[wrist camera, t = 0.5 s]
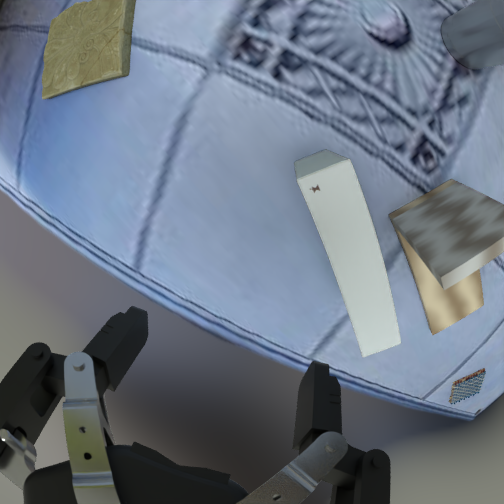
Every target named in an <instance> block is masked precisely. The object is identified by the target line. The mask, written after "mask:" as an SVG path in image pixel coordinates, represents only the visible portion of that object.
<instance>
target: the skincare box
mask: <svg viewBox="0 0 504 504" xmlns="http://www.w3.org/2000/svg"><path fill="white" fill-rule="evenodd" d="M294 166H295V172H296V178H297V183H298V185H299V187H300V190H301V192H302V194H303V196H304V199H305V201H306V203H307V206H308V208H309V211H310V213H311V215H312V218H313V220H314V223H315V225H316V227H317V230H318V232H319V235H320V237H321V240H322V242H323V245H324V247H325V250H326V253H327V255H328V258H329V261H330V263H331V266H332V269H333V272H334V274H335V277H336V280H337V283H338V286H339V288H340V291H341V294H342V297H343V300H344V303H345V306H346V309H347V311H348V314H349V317H350V320H351V323H352V326H353V329H354V332H355V335H356V338H357V341H358V344H359V347H360V351H361V354H362V357H366V356H369V355H372V354H375V353H377V352H380V351H383V350H386V349H389V348H391V347H394V346H396V345H399V344H401V339H400V332H399V327H398V322H397V317H396V312H395V307H394V302H393V298H392V293H391V289H390V284H389V280H388V276H387V272H386V268H385V264H384V260H383V256H382V253H381V249H380V245H379V242H378V238H377V235H376V232H375V228H374V225H373V222H372V219H371V216H370V212H369V209H368V206H367V203H366V200H365V197H364V195H363V192H362V189H361V186H360V183H359V181H358V178H357V175H356V173H355V170H354V168H353V165H352V162H351V160H350V159H347V158H345V157H343V156H340V155H338V154H335V153H333V152H331V151H328V150H327V149H325V150H323V151H320V152H317V153H315V154H312V155H310V156H307V157H305V158H302V159H300V160H297V161H295V162H294Z"/></svg>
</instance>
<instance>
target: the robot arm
mask: <svg viewBox="0 0 504 504" xmlns="http://www.w3.org/2000/svg"><path fill="white" fill-rule="evenodd" d="M441 34H442V38H443V41H444V43H445V45H446V47H447V49H448V50H449V52H450V53H451V55H452V56H453V57H454V58H455V59H456V60H457V61H458V62H459V63H460V64H462V65H463V66H465V67H467V68H469V69H473V70H477V69H483V68H488V67H494V66H499V65H504V0H477V1H475V2H473V3H472V4H470V5H468V6H466V7H465V8H463V9H461V10H460V11H458V12H456V13H455V14H453V15H451V16H450V17H448V18H447V19H445V20H444V22H443V23H442V26H441ZM147 315H148V314H147V311H145V310H142V309H140V308H137V307H134V306H131V307H130V308H129V309H128V311H127V312H126V313H125V314H124V313H121V312H120V313H118V314H116V315H114V316H112V317H111V318H110V319H109V320H108V321H107V323H106V324H105V325H104V326H103V327H102V329H101V331H99V332H98V333H97V334H96V336H95V337H94V338H93V339H92V340H91V341H90V343H89V344H88V345H87V346H86V348H85V349H84V350H83V351H82V352H74V353H72V354H70V355H69V356H64V355H60V354H55V353H51V350H50V348H49V347H48V346H47V345H46V344H44V343H34V344H32V345H30V346H29V347H28V348H27V349H26V351H25V352H24V353H23V354H22V356H21V357H20V358H19V360H17V362H16V363H15V364H14V366H13V367H12V368H11V369H10V371H9V372H8V373H7V375H6V376H5V377H4V379H3V380H2V381H1V383H0V472H1V473H2V474H3V475H5V476H6V477H7V478H8V479H9V480H10V481H12V482H13V483H14V484H15V485H17V486H18V487H19V488H20V489H22V490H23V495H24V504H300V502H302V501H303V500H304V499H305V498H306V497H307V496H308V495H309V494H310V493H311V492H312V491H313V490H314V489H315V488H316V485H317V484H318V483H319V482H320V481H321V480H323V481H325V482H328V483H330V484H333V487H332V494H331V501H330V504H390V459H389V457H388V455H387V454H386V453H385V452H384V451H382V450H379V449H373V450H370V451H368V452H364V451H361V450H359V449H356V448H353V447H352V446H350V445H349V444H348V443H347V441H346V439H345V438H344V437H343V436H342V419H341V418H342V417H341V397H340V396H341V388H340V384H339V382H338V380H337V378H336V377H334V376H329V365H328V364H325V363H320V362H315V361H313V362H312V363H311V364H310V366H309V368H308V370H307V371H306V373H305V375H304V377H303V379H302V380H301V383H300V386H299V391H298V401H297V411H296V412H297V413H296V421H295V430H294V439H293V447H292V449H295V450H299V456H298V457H297V458H296V459H295V460H293V461H292V462H291V463H290V464H288V465H287V466H286V467H285V468H283V469H282V470H281V471H280V472H279V473H277V474H276V475H275V476H274V477H272V478H271V479H270V480H268V481H267V482H266V483H264V484H263V485H262V486H261V487H259V488H258V489H256V490H255V491H254V492H252V493H251V494H249V493H247V491H246V490H245V489H244V488H243V487H241V486H240V485H239V484H237V483H236V482H234V481H232V480H230V479H229V478H230V474H226V473H222V472H219V471H215V470H211V469H207V468H200V467H188V466H180V465H177V464H176V463H174V462H173V461H171V460H169V459H168V458H166V457H165V456H163V455H162V454H160V453H159V452H157V451H155V450H153V449H151V448H148V447H146V446H143V445H141V444H139V443H137V442H134V443H133V445H132V446H130V445H116V443H115V440H114V437H113V434H112V431H111V427H110V423H109V418H108V414H107V408H106V403H105V397H104V392H105V391H106V389H107V388H108V389H110V390H112V391H115V390H116V388H117V386H118V385H119V383H120V382H121V380H122V379H123V377H124V375H125V374H126V372H127V371H128V369H129V368H130V366H131V365H132V363H133V362H134V360H135V358H136V357H137V356H138V354H139V353H140V351H141V349H142V348H143V346H144V345H145V343H146V341H147V338H148V316H147ZM63 396H64V397H66V402H63V417H64V426H65V434H66V441H67V448H68V453H69V459H70V460H68V461H65V462H62V463H59V464H55V465H52V466H48V467H45V468H41V469H38V470H35V462H36V456H37V453H36V449H35V447H34V444H35V442H36V440H37V439H38V437H39V435H40V433H41V431H42V430H43V428H44V426H45V424H46V423H47V421H48V419H49V418H50V416H51V414H52V413H53V411H54V409H55V408H56V406H57V405H58V403H59V401H60V400H61V398H62V397H63Z"/></svg>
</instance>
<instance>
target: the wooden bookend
mask: <svg viewBox="0 0 504 504" xmlns="http://www.w3.org/2000/svg"><path fill="white" fill-rule="evenodd" d="M389 217H390V219H391V222H392V224H393V226H394V228H395V231H396V233H397V236H398V238H399V240H400V243H401V245H402V248H403V250H404V253H405V255H406V258H407V261H408V263H409V266H410V269H411V271H412V274H413V277H414V280H415V283H416V286H417V289H418V292H419V295H420V298H421V301H422V304H423V308H424V311H425V314H426V318H427V321H428V325H429V328H430V331H431V333H432V335H434V334H436V333H438V332H440V331H442V330H443V329H445V328H447V327H449V326H450V325H452V324H454V323H456V322H457V321H459V320H461V319H462V318H464V317H466V316H467V315H469V314H471V313H472V312H474V311H475V310H477V309H479V308H480V307H482V306H483V305H484V301H483V292H482V284H481V277H480V270H479V269H480V268H481V267H483V266H484V265H486V264H487V263H489V262H490V261H491V260H493V259H494V258H496V257H497V256H499V255H500V254H501V253H503V252H504V205H503V204H501V203H500V202H498V201H496V200H494V199H492V198H490V197H488V196H486V195H484V194H482V193H480V192H478V191H476V190H474V189H472V188H470V187H468V186H466V185H464V184H462V183H459V182H457V181H455V180H453V179H450V180H449V181H447V182H445V183H443V184H442V185H440V186H438V187H437V188H435V189H433V190H431V191H430V192H428V193H426V194H424V195H423V196H421V197H419V198H417V199H416V200H414V201H412V202H410V203H408V204H407V205H405V206H403V207H401V208H400V209H398V210H396V211H394V212H392V213H391V214H389Z"/></svg>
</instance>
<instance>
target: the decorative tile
mask: <svg viewBox="0 0 504 504" xmlns="http://www.w3.org/2000/svg"><path fill="white" fill-rule="evenodd" d="M135 2H136V0H92V1H90V2H85V1H84V2H81V3H75V4H74V5H73V6H71V7H70V8H68V9H66V10H65V11H63V12H62V13H61V14H60V15H59V16H58V17H56V18H54V19H52V21H51V25H50V30H49V35H48V43H47V44H46V47H45V52H44V71H43V75H42V85H43V91H42V98H43V99H50V98H53V97H56V96H58V95H61V94H64V93H67V92H70V91H73V90H76V89H79V88H83V87H86V86H89V85H93V84H96V83H100V82H104V81H108V80H112V79H116V78H120V77H124V76H128V75H129V71H130V52H131V38H132V36H131V35H132V27H133V20H134V10H135Z"/></svg>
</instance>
